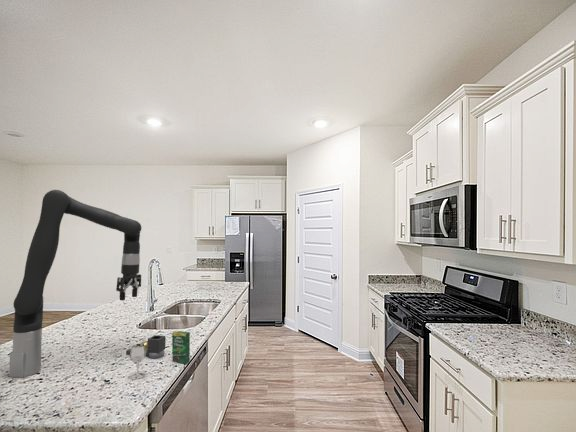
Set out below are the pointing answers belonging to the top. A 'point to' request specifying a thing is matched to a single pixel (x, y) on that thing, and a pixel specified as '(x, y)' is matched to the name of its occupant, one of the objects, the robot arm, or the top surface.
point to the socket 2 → (156, 344)
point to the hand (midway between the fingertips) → (128, 298)
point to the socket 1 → (145, 344)
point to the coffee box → (181, 347)
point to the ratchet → (149, 354)
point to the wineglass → (137, 357)
